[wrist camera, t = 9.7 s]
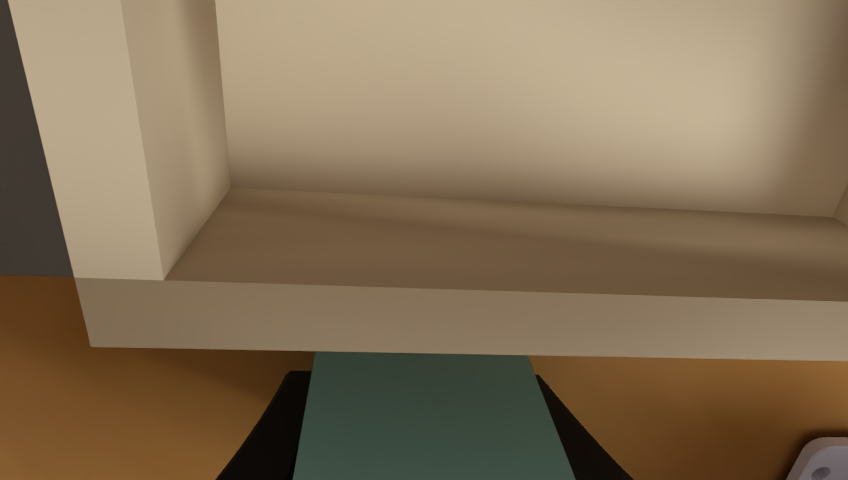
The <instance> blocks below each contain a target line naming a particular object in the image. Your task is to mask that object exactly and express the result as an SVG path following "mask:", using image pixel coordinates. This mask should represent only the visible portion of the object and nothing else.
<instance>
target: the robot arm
mask: <svg viewBox="0 0 848 480" xmlns="http://www.w3.org/2000/svg"><path fill="white" fill-rule="evenodd" d="M311 374H312V371H290V372H289V373H288V374H286V375H285V377H284V379H283V381H282V383H281V385H280V387H279V389H278V390H277V392H276V394H275V396H274V397H273V399H272V401H271V402H270V404H269V406H268V407H267V409H266V410H265V412H264V413H263V415H262V417H261V418H260V420H259V421H258V423H257V424H256V426H255V427H254V428H253V430H252V431H251V433H250V434H249V436H248V437H247V439H246V440H245V441H244V443H243V444H242V446H241V447H240V449H239V450H238V451H237V453H236V454H235V455H234V457H233V458H232V459H231V461H230V462H229V463H228V464H227V466H226V467H225V468H224V469H223V471H222V472H221V473H220V475H219V476H218V477H217V478H216V480H293V475H294V470H295V464H296V458H297V453H298V447H299V441H300V436H301V430H302V424H303V419H304V413H305V407H306V402H307V396H308V390H309V385H310V379H311ZM535 376H536V379H537V381H538V384H539V387H540V389H541V392H542V394H543V397H544V399H545V402H546V405H547V407H548V410H549V412H550V415H551V417H552V420H553V423H554V425H555V428H556V430H557V433H558V435H559V438H560V441H561V443H562V446H563V448H564V451H565V453H566V456H567V459H568V461H569V464H570V466H571V469H572V471H573V474H574V477H575V479H576V480H633V479H632V478H631V477H630V476H629V475H628V474H627V473H626V472H625V471H624V470H623V469H622V468H621V467H620V466H619V465H618V464H617V463H616V462H615V461H614V460H613V459H612V458H611V457H610V455H609V454H608V453H607V452H606V451H605V450H604V449H603V448H602V447H601V446H600V445H599V444H598V442H597V441H596V440H595V439H594V438H593V437H592V436H591V435H590V434H589V433H588V432H587V430H586V429H585V428H584V427H583V426H582V425H581V424H580V423H579V421H578V420H577V419H576V418H575V417H574V416H573V414H572V413H571V412H570V411H569V410H568V409H567V407H566V406H565V405H564V404H563V403H562V402H561V400H560V399H559V398H558V397H557V396H556V395H555V393H554V392H553V391H552V390H551V389H550V388H549V386H548V385H547V384H546V383H545V382H544V381H543V379H542V378H541V377H540V376H539V375H535ZM786 480H848V437H821V438H817V439H814V440H812V441H810V442H809V443H807V444H806V445H805V446H804V448H803V449H802V451H801V453H800V455H799V456H798V458H797V460H796V462H795V464H794V466H793V468H792V469H791V471H790V473H789V475H788V477H787V479H786Z"/></svg>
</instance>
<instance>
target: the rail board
mask: <svg viewBox="0 0 848 480" xmlns="http://www.w3.org/2000/svg"><path fill="white" fill-rule="evenodd" d="M0 274H2V275H33V276H65V277H74V274H73V270H72V266H71V262H70V258H69V253H68V249H67V245H66V241H65V237H64V233H63V228H62V224H61V220H60V216H59V212H58V207H57V203H56V199H55V195H54V191H53V187H52V182H51V178H50V174H49V170H48V166H47V162H46V157H45V153H44V149H43V145H42V141H41V136H40V132H39V128H38V124H37V120H36V116H35V111H34V107H33V103H32V99H31V95H30V91H29V86H28V82H27V78H26V74H25V70H24V66H23V61H22V57H21V53H20V49H19V45H18V40H17V36H16V32H15V28H14V24H13V20H12V15H11V11H10V7H9V3H8V0H0Z"/></svg>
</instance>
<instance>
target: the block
mask: <svg viewBox="0 0 848 480" xmlns="http://www.w3.org/2000/svg"><path fill="white" fill-rule="evenodd" d="M293 480H576V479H575V477H574V474H573V471H572V469H571V466H570V464H569V461H568V459H567V456H566V453H565V451H564V448H563V446H562V443H561V441H560V438H559V435H558V433H557V430H556V428H555V425H554V423H553V420H552V417H551V415H550V412H549V410H548V407H547V405H546V402H545V399H544V397H543V394H542V392H541V389H540V387H539V384H538V381H537V379H536V376H535V374H534V371H533V369H532V366H531V364H530V361H529V358H528V356H527V355H490V354H437V353H385V352H332V351H315V357H314V362H313V368H312V374H311V379H310V385H309V390H308V396H307V402H306V407H305V413H304V419H303V424H302V430H301V436H300V441H299V447H298V453H297V458H296V464H295V470H294V475H293Z"/></svg>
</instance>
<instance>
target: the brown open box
mask: <svg viewBox="0 0 848 480" xmlns="http://www.w3.org/2000/svg"><path fill="white" fill-rule="evenodd" d="M8 3H9V7H10V11H11V15H12V20H13V24H14V28H15V32H16V36H17V40H18V45H19V49H20V53H21V57H22V61H23V66H24V70H25V74H26V78H27V82H28V86H29V91H30V95H31V99H32V103H33V107H34V111H35V116H36V120H37V124H38V128H39V132H40V136H41V141H42V145H43V149H44V153H45V157H46V162H47V166H48V170H49V174H50V178H51V182H52V187H53V191H54V195H55V199H56V203H57V207H58V212H59V216H60V220H61V224H62V228H63V233H64V237H65V241H66V245H67V249H68V253H69V258H70V262H71V266H72V270H73V274H74V278H75V283H76V287H77V291H78V295H79V299H80V304H81V308H82V312H83V316H84V320H85V324H86V329H87V333H88V337H89V341H90V345H91V347H121V348H174V349H227V350H279V351H332V352H385V353H437V354H490V355H543V356H596V357H648V358H701V359H754V360H806V361H848V0H8Z"/></svg>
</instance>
